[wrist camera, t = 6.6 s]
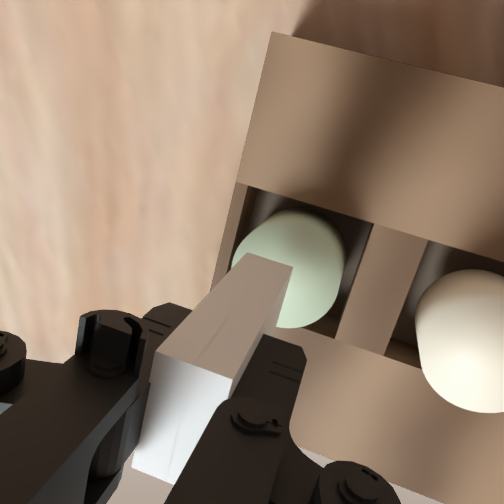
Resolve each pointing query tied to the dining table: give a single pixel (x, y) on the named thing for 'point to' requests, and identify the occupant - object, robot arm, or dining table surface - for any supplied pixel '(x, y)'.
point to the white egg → (464, 339)
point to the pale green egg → (301, 261)
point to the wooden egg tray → (380, 249)
